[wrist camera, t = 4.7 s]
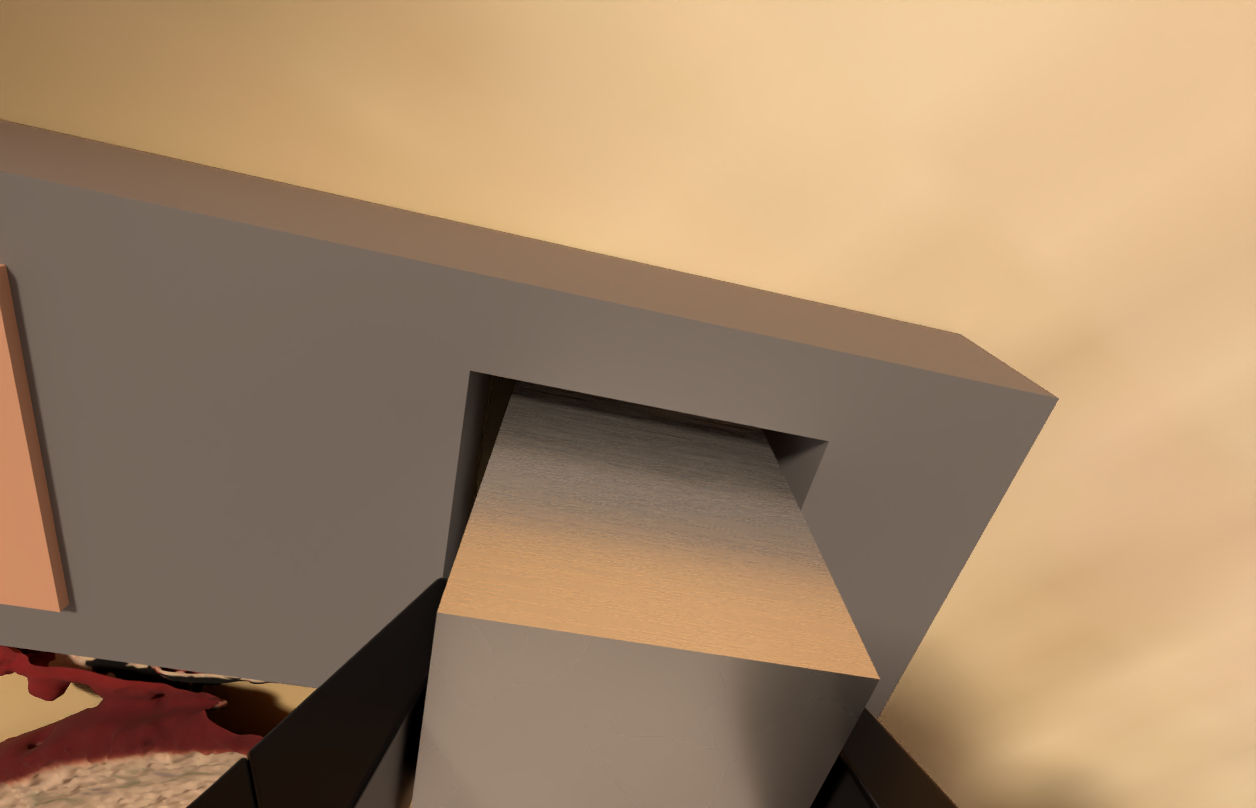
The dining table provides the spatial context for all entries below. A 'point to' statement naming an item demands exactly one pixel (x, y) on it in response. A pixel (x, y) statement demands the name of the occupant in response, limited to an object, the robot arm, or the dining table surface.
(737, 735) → the aluminium block
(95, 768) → the plate with food
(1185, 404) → the dining table surface
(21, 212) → the parts holder
